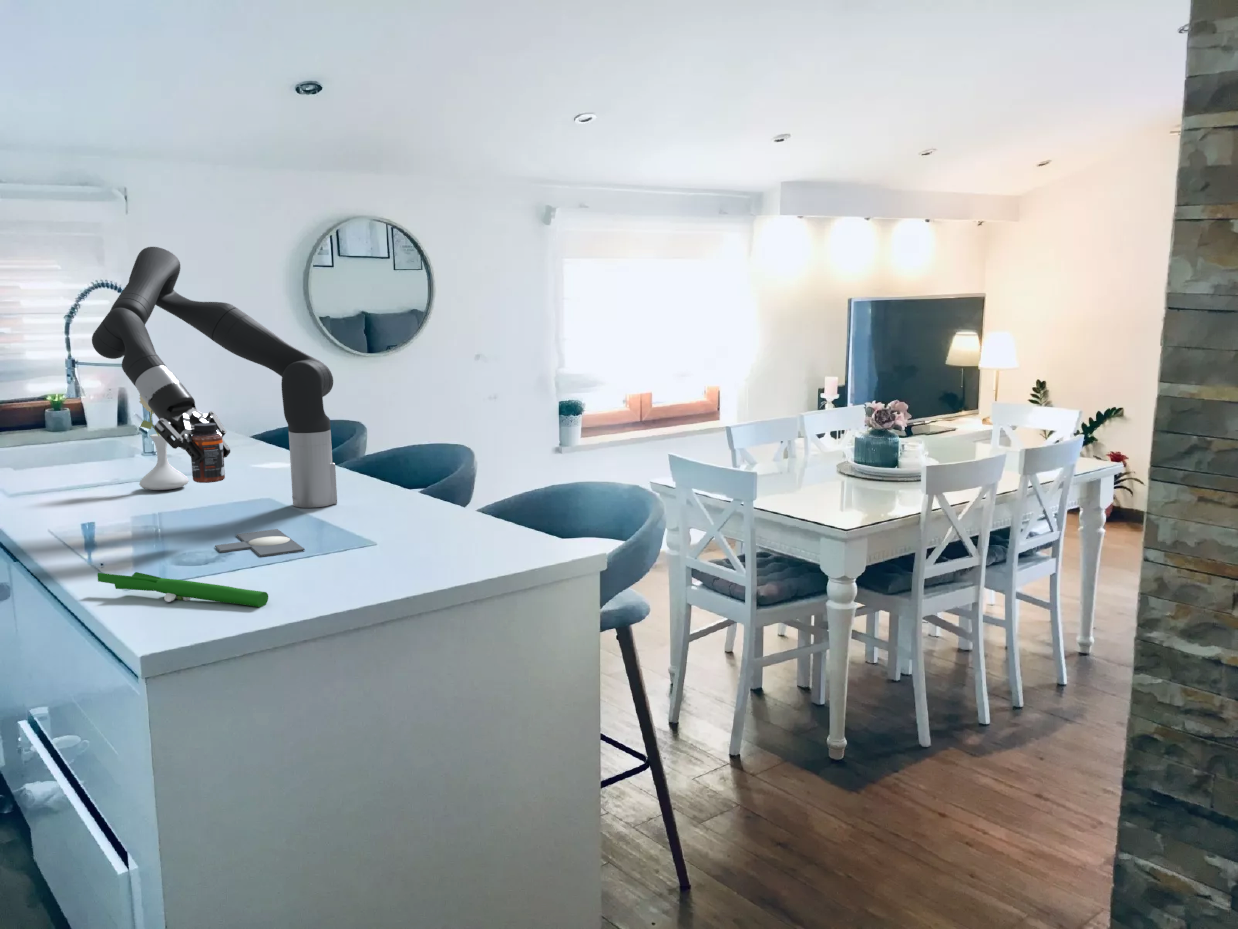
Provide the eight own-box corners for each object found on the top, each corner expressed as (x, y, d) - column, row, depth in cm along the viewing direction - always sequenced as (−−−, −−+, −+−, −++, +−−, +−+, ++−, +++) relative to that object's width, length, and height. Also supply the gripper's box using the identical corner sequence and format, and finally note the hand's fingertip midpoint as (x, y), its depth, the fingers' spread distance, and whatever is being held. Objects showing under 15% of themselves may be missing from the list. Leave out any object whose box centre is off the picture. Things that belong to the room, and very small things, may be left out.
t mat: (277, 530, 202) (277, 528, 202) (304, 550, 185) (304, 548, 185) (207, 539, 195) (207, 537, 195) (229, 561, 178) (229, 558, 178)
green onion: (270, 608, 154) (109, 585, 161) (270, 588, 153) (108, 565, 161) (251, 618, 149) (86, 593, 157) (250, 597, 149) (85, 573, 156)
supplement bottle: (232, 479, 196) (228, 423, 194) (207, 484, 191) (204, 426, 189) (210, 476, 198) (206, 421, 196) (185, 481, 193) (181, 424, 191)
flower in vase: (198, 487, 251) (191, 389, 247) (157, 494, 241) (148, 392, 237) (168, 482, 258) (160, 387, 254) (126, 489, 248) (117, 390, 244)
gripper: (184, 403, 203) (232, 464, 201) (125, 410, 190) (176, 476, 188) (202, 378, 200) (251, 440, 198) (143, 384, 187) (195, 450, 185)
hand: (214, 457), depth 193 cm, fingers closed on supplement bottle, 6 cm apart
